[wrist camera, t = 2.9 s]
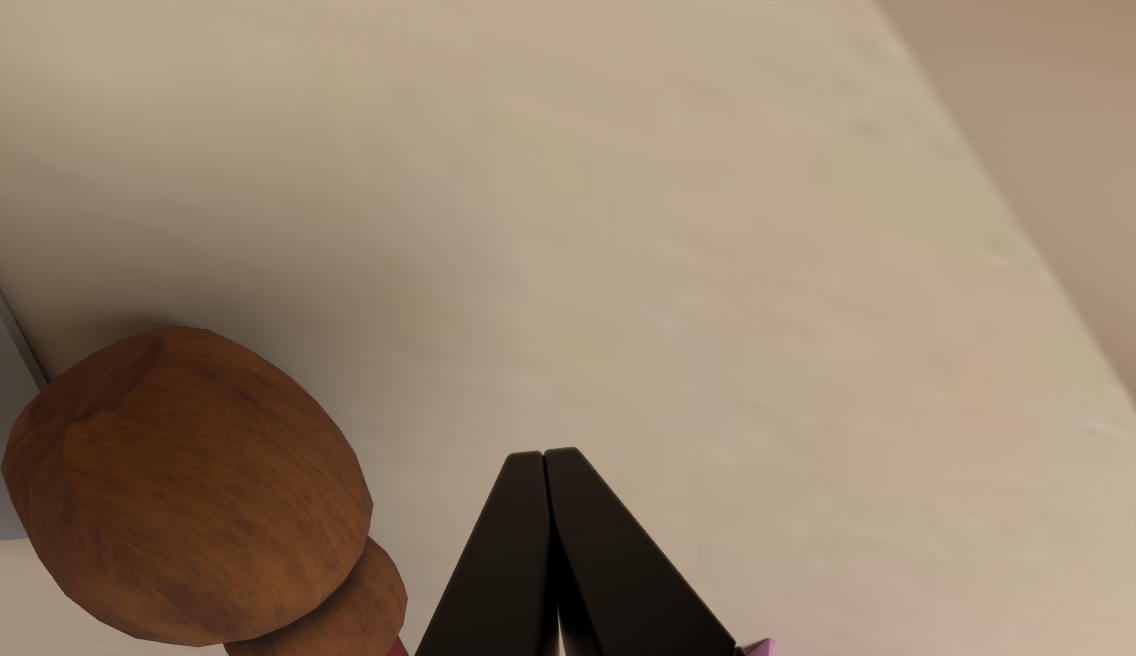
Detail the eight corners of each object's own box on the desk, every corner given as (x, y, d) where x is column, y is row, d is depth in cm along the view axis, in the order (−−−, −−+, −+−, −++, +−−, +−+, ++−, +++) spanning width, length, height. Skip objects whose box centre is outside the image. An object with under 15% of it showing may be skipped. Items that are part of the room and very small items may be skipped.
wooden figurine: (31, 343, 19) (328, 639, 28) (-121, 528, 14) (292, 813, 23) (269, 262, 18) (499, 596, 27) (189, 433, 13) (497, 768, 22)
